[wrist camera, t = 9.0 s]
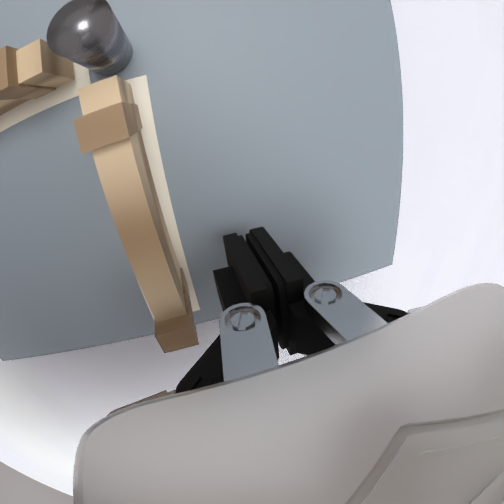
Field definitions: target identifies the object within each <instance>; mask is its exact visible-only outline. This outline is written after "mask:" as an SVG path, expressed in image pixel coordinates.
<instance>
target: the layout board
mask: <svg viewBox="0 0 504 504" xmlns="http://www.w3.org/2000/svg"><path fill="white" fill-rule="evenodd" d="M70 1H72V0H0V49H1V48H2V47H4V46H10V47H13V48H16V49H20V48H22V47H24V46H26V45H28V44H30V43H32V42H34V41H36V40H38V39H42V40H44V41H46V42H47V38H46V37H47V29H48V26H49V24H50V22H51V20H52V18H53V17H54V15H55V14H56V13H57V11H58V10H59V9H60V8H62V7H63V6H64V5H65V4H67V3H68V2H70ZM106 1H107V2H108V3H109V5H110V7H111V8H112V10H113V12H114V14H115V16H116V18H117V19H118V21H119V23H120V25H121V27H122V28H123V30H124V32H125V34H126V36H127V37H128V39H129V41H130V43H131V45H132V48H133V56H132V59H131V61H130V63H129V64H128V66H127V67H126V68H125V69H124V70H122V71H121V72H119V73H117V74H115V75H117V76H118V77H120V78H121V79H123V80H125V81H126V82H128V83H129V84H130V85H131V88H132V93H133V98H134V103H135V104H137V105H138V109H139V114H140V119H141V123H142V127H143V128H142V129H140V130H141V134H142V138H143V142H144V147H145V151H146V155H147V159H148V162H149V166H150V170H151V174H152V178H153V181H154V185H155V189H156V192H157V196H158V199H159V203H160V206H161V210H162V213H163V216H164V220H165V223H166V226H167V229H168V233H169V236H170V239H171V242H172V245H173V248H174V252H175V255H176V258H177V261H178V264H179V267H180V268H182V269H183V272H184V275H185V278H186V281H187V284H188V289H189V295H190V301H191V306H192V312H193V317H194V322H195V324H198V323H202V322H206V321H210V320H213V319H217V318H220V316H221V315H222V313H223V310H222V307H221V303H220V300H219V296H218V292H217V288H216V284H215V280H214V275H213V270H216V269H221V268H225V267H228V263H227V258H226V252H225V247H224V242H223V236H224V235H228V234H232V233H237V235H238V236H239V235H242V236H243V237H244V239H245V241H246V237H245V235H246V234H248V233H249V230H250V229H254V228H258V227H264V228H265V229H266V231H267V232H268V233H269V235H270V236H271V237H272V238H273V240H274V241H275V242H276V243H277V245H278V246H279V247H280V249H281V250H282V251H283V252H288V251H290V252H291V253H292V254H293V255H294V256H295V258H296V259H297V260H298V261H299V262H300V264H301V265H302V266H303V267H304V269H305V270H306V271H307V272H308V273H309V275H310V276H311V277H312V278H313V280H314V281H315V282H317V281H323V280H328V281H334V282H337V283H340V282H343V281H346V280H349V279H352V278H355V277H358V276H361V275H363V274H366V273H369V272H372V271H375V270H378V269H381V268H384V267H386V266H389V265H392V262H393V255H394V249H395V242H396V234H397V226H398V217H399V207H400V196H401V182H402V164H403V101H402V83H401V70H400V60H399V51H398V43H397V36H396V29H395V23H394V17H393V11H392V6H391V1H390V0H106ZM73 69H74V77H75V80H73V81H71V82H68V83H66V84H63V85H61V86H59V87H56V90H55V91H52V92H50V93H48V94H46V95H43V96H41V97H39V98H37V99H30V100H28V101H26V102H24V103H22V104H20V105H19V106H17V107H15V108H13V109H11V110H9V111H8V112H6V113H4V114H2V115H1V116H0V358H1V360H2V361H6V360H14V359H21V358H28V357H35V356H41V355H48V354H54V353H60V352H66V351H72V350H77V349H83V348H88V347H94V346H99V345H104V344H109V343H114V342H119V341H124V340H129V339H133V338H138V337H142V336H147V335H151V334H155V322H154V315H153V313H152V311H151V309H150V307H149V305H148V303H147V301H146V298H145V296H144V294H143V292H142V290H141V287H140V285H139V283H138V281H137V278H136V276H135V274H134V271H133V269H132V266H131V264H130V262H129V259H128V257H127V254H126V252H125V249H124V247H123V244H122V242H121V239H120V236H119V234H118V231H117V228H116V226H115V223H114V220H113V217H112V214H111V212H110V209H109V206H108V203H107V200H106V197H105V194H104V191H103V188H102V184H101V181H100V178H99V175H98V171H97V168H96V165H95V161H94V158H93V154H92V151H89V152H87V153H84V154H82V153H81V150H80V146H79V142H78V138H77V134H76V130H75V126H74V122H73V120H74V119H77V118H79V117H81V116H83V114H82V109H81V105H80V100H79V95H78V89H80V88H82V87H85V86H87V85H90V84H93V83H95V82H98V81H101V80H103V79H106V78H109V77H112V76H115V75H111V76H104V75H100V74H98V73H96V72H94V71H92V70H90V69H88V68H85V67H83V66H81V65H79V64H77V63H75V62H73Z"/></svg>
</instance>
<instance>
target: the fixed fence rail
mask: <svg viewBox="0 0 504 504" xmlns="http://www.w3.org/2000/svg"><path fill="white" fill-rule="evenodd" d="M73 80H75V77H74V69H73V62H72V61H70V60H68V59H66V58H64V57H61V56H59V55H57V54H55V53H54V52H52V51H51V49H50V48H49V46H48V44H47V42H46V41H44V40H42V39H38V40H36V41H34V42H32V43H30V44H28V45H26V46H24V47H22V48H20V49H16V48H13V47H10V46H4V47H2V48H1V49H0V116H1V115H2V114H4V113H6V112H8V111H9V110H11V109H13V108H15V107H17V106H19V105H20V104H22V103H24V102H26V101H28V100H30V99H37V98H39V97H41V96H43V95H46V94H48V93H50V92H52V91H55V90H56V87H59V86H61V85H63V84H66V83H68V82H71V81H73Z"/></svg>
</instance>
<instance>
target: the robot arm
mask: <svg viewBox="0 0 504 504" xmlns="http://www.w3.org/2000/svg"><path fill="white" fill-rule="evenodd" d="M245 237H246V241H245V239H244V237H243V236H242V235H239V236H238V235H237V233H232V234H228V235H224V236H223V242H224V247H225V252H226V258H227V263H228V267H225V268H221V269H216V270H213V275H214V280H215V284H216V288H217V292H218V296H219V300H220V303H221V307H222V310H223V313H222V315H221V316H220V321H219V324H220V335H219V336H218V337H217V338H216V340H215V341H214V342H213V343H212V344H211V346H210V347H209V348H208V349H207V350H206V352H205V353H204V354H203V355H202V356H201V358H200V359H199V360H198V361H197V362H196V363H195V365H194V366H193V367H192V368H191V369H190V371H189V372H188V373H187V374H186V375H185V376H184V378H183V379H182V380H181V381H180V383H179V384H178V386H177V388H176V390H174V391H171V392H169V393H167V391H166V390H165V391H162V392H160V393H157V394H155V395H152V396H150V397H147V398H145V399H142V400H140V401H137V402H134V403H132V404H129V405H126V406H124V407H121V408H118V409H115V410H114V411H112V412H110V413H109V414H108V415H107V416H106V417H104V418H102V419H101V420H99V421H98V422H96V423H95V424H94V425H92V426H91V427H90V428H89V429H88V430H87V431H86V432H85V433H84V434H83V436H82V438H81V440H80V442H79V445H78V447H77V451H76V456H75V463H74V474H73V499H74V504H504V287H503V286H501V285H499V284H493V283H482V284H475V285H471V286H467V287H464V288H462V289H459V290H457V291H455V292H453V293H451V294H448V295H446V296H444V297H442V298H440V299H438V300H436V301H434V302H432V303H430V304H428V305H426V306H423V307H419V308H415V309H410V310H408V312H407V313H406V312H405V311H402V310H399V309H394V308H389V307H384V306H379V305H374V304H369V303H364V302H362V301H361V300H359V299H358V298H357V297H356V296H355V295H353V294H352V293H351V292H350V291H348V290H347V289H346V288H345V287H344V286H342V285H341V284H339V283H337V282H334V281H328V280H323V281H317V282H315V281H314V280H313V278H312V277H311V276H310V275H309V273H308V272H307V271H306V270H305V269H304V267H303V266H302V265H301V264H300V262H299V261H298V260H297V259H296V258H295V256H294V255H293V254H292V253H291V252H290V251H288V252H283V251H282V250H281V249H280V247H279V246H278V245H277V243H276V242H275V241H274V240H273V238H272V237H271V236H270V235H269V233H268V232H267V231H266V229H265V228H264V227H258V228H254V229H250V230H249V233H248V234H246V235H245ZM278 343H279V345H280V347H281V348H282V349H284V348H287V350H288V352H289V354H290V355H293V354H296V353H300V354H304V357H303V358H300V359H297V360H294V361H291V362H288V363H285V364H282V365H278V361H277V360H278V359H279V350H278Z"/></svg>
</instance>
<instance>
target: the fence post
mask: <svg viewBox="0 0 504 504" xmlns="http://www.w3.org/2000/svg"><path fill="white" fill-rule="evenodd" d="M46 38H47V44H48V46H49V48H50V49H51V51H52V52H54V53H55V54H57V55H59V56H61V57H64V58H66V59H68V60H70V61H72V62H75V63H77V64H79V65H81V66H83V67H85V68H88V69H90V70H92V71H94V72H96V73H98V74H100V75H104V76H111V75H115V74H117V73H119V72H121V71H122V70H124V69H125V68H126V67H127V66H128V64H129V63H130V61H131V59H132V56H133V48H132V45H131V43H130V41H129V39H128V37H127V36H126V34H125V32H124V30H123V28H122V27H121V25H120V23H119V21H118V19H117V18H116V16H115V14H114V12H113V10H112V8H111V7H110V5H109V3H108V2H107V1H106V0H72V1H70V2H68V3H67V4H65V5H64V6H63V7H62V8H60V9H59V10H58V11H57V13H56V14H55V15H54V17H53V18H52V20H51V22H50V24H49V26H48V29H47V37H46Z"/></svg>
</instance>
